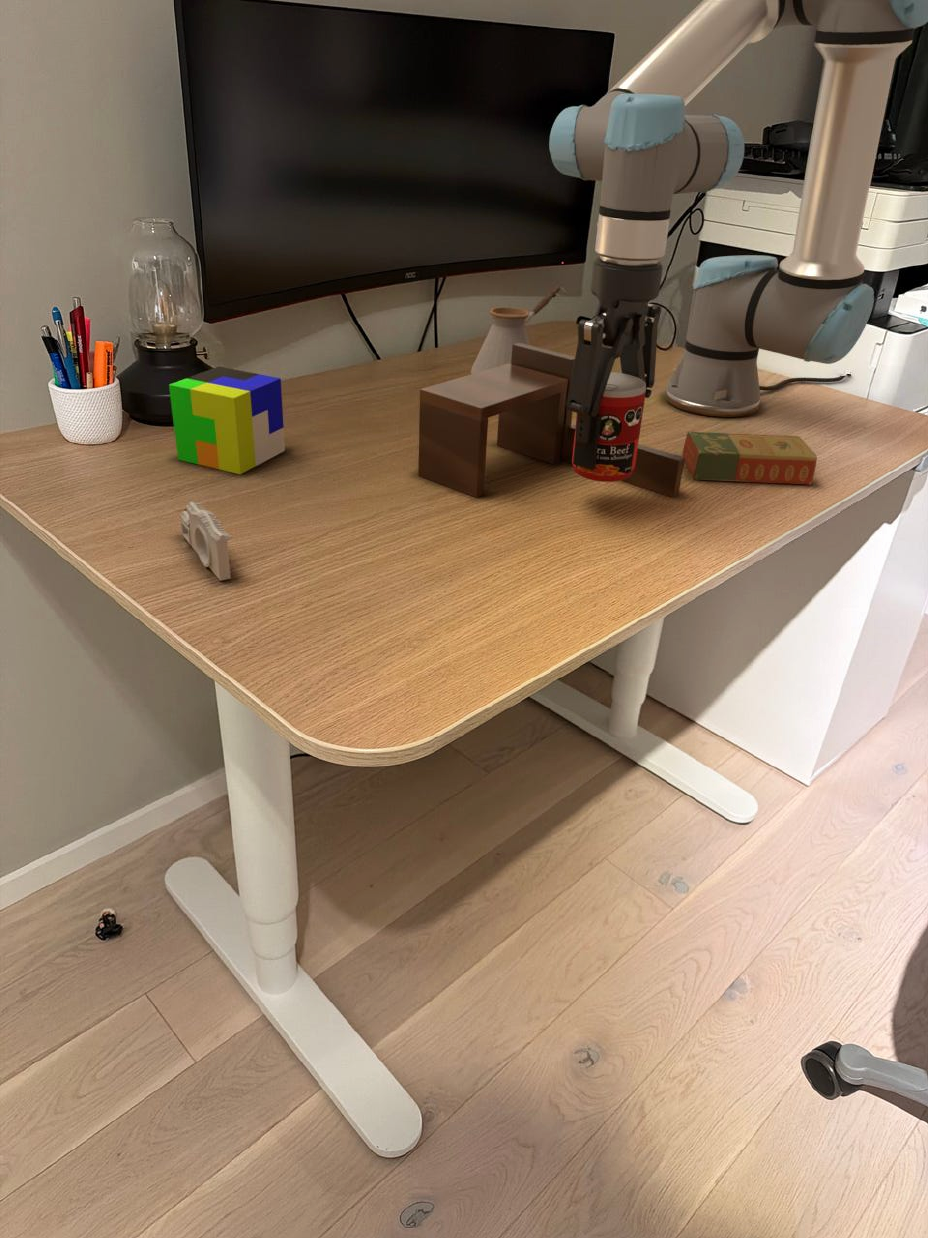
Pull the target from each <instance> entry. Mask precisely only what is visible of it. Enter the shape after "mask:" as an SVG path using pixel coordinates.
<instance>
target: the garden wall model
mask: <svg viewBox="0 0 928 1238" xmlns="http://www.w3.org/2000/svg"><path fill="white" fill-rule="evenodd" d="M185 509H186V510H184V511H183V512H181V513H179V514H178V517H179V518H180V519H181V520H180V529H181V535H182V536H183V538H184V539H185V541H186V542H188V544H189V545H190V546H191V548H192V549H193V550H194V551H195V553H196V554H197V555H198V557H199V560H200V562H201V564H202V565H203V566H204V567H205V568H209V569H210V571H211V572H212V573H213V574H214V575H215V576H216V578H217V579H218V580H219V581H220V582H221V581H225V580H230V579H232V577H231V566H230V557H229V545H228V541H230V540H231V538H232V535H231V534H229V533H228V532H227V531H226V530H225V528H224V527H223V525H222V524H221V523H222V522H221V521H220V520H219V519H218V517H217V516H216V514H214V512H212V511H211V510H206V509H205V508H204V506H203V505H202V503H199V502H194V501H189V504H188V505H186V506H185Z"/></svg>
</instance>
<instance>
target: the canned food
mask: <svg viewBox="0 0 928 1238" xmlns="http://www.w3.org/2000/svg"><path fill="white" fill-rule="evenodd" d="M645 393H646V383H645V382H644V381H643V380H642V379H640V378H638V377H635V376H632V375H628V374H623V373H622V372H615V371H613V372H612V371H611V373H610V376H609V379H608V382H607V386H606V389H605V392H604V395H603V398H602V401H601V404H600V407H599V410H598V413H597V414H599V415H602V418H601V426H600V435H599V443H598V451H597V460H596V468H595V469H594V470H589V469H586V468H583V467H580V466H577V465H574V464H573V458H574V449H575V439H576V438H575V437H574V447H573V458H572V464H571V465H572V469H573V471H574V473H576V474H577V475H578V476H580V477H582V478H584V479H587V480H590V481H594V482H603V483H614V482H619V481H622V480H624V479H626V478H628V477H629V476H630V475H631V474H632V472H633V470H634V468H635V462H636V456H637V449H638V444H639V442H640V436H641V429H642V428H641V427H642V421H643V413H644V407H645V400H646V398H645ZM575 425H577V416H575ZM575 435H576V427H575Z"/></svg>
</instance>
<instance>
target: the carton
mask: <svg viewBox="0 0 928 1238" xmlns="http://www.w3.org/2000/svg"><path fill="white" fill-rule="evenodd" d="M681 457H683V458H685V461H684V464H686V466H687V468H688V470H689V472H690V474H691V476H692V478H693V479H694V480H696V481H723V482H745V483H746V482H747V483H766V484H767V483H769V484H771V483H772V484H791V485H792V484H793V485H794V484H795V485H811V484H812V483H813V479H814V475H815V472H816V466H817V461H818V457H817V455H816V454H815V453H814V451H813V450H812V449H811V447H810V446H809V445H808V444H807V443H806V442H805V441H804V439H802V438H801V436H797V435H780V434H779V435H777V434H751V433H727V432H704V431H703V432H702V431H701V432H700V431H688V432H687V434H686V437H685V440H684V445H683V448H682V453H681Z"/></svg>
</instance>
